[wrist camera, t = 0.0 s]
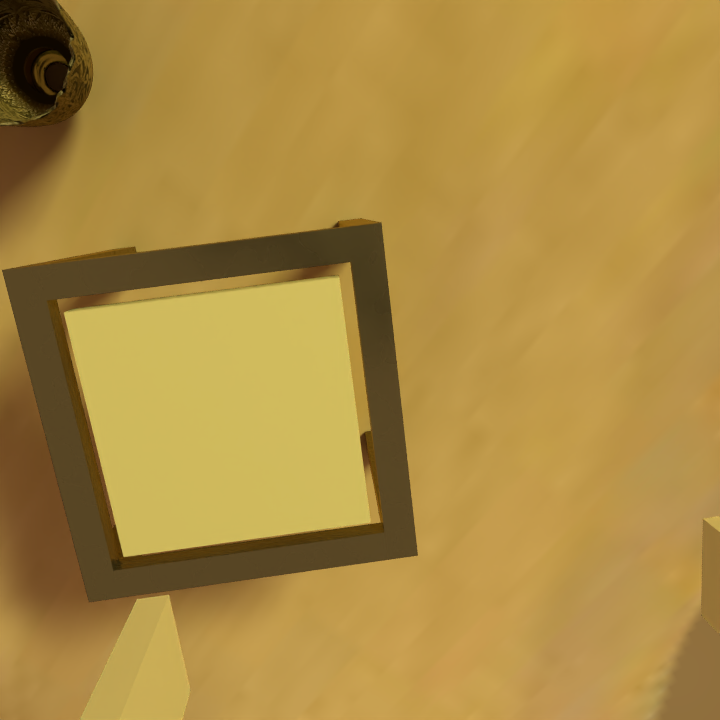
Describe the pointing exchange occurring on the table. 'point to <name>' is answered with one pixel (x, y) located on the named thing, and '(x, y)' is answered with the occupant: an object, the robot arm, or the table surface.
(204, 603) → the table surface
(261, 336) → the trapdoor
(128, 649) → the robot arm
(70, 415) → the trapdoor frame
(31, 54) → the dark piece
